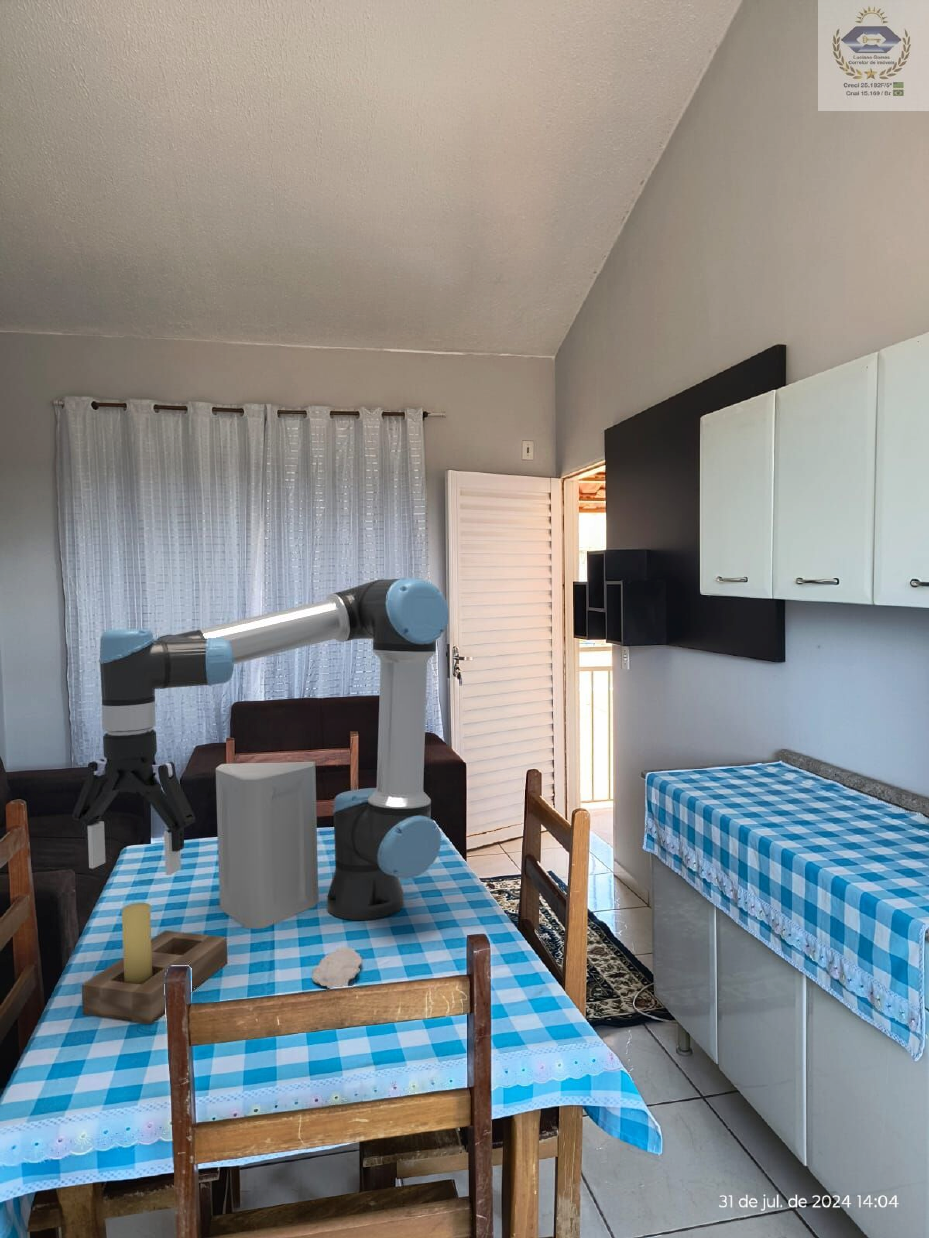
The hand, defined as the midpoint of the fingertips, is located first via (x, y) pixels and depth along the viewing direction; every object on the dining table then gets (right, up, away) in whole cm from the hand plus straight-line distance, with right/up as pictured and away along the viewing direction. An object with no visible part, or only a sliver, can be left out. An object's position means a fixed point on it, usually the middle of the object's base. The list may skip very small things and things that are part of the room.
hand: (134, 868), depth 125 cm
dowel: (+1, -20, 0) cm, 20 cm away
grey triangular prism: (+11, -20, +35) cm, 41 cm away
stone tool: (+30, -20, +8) cm, 37 cm away
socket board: (+2, -21, +5) cm, 21 cm away
